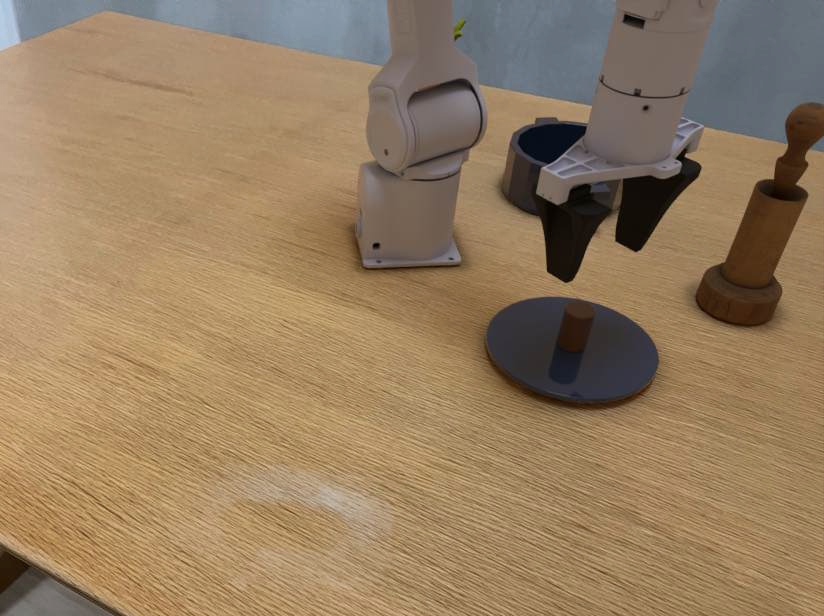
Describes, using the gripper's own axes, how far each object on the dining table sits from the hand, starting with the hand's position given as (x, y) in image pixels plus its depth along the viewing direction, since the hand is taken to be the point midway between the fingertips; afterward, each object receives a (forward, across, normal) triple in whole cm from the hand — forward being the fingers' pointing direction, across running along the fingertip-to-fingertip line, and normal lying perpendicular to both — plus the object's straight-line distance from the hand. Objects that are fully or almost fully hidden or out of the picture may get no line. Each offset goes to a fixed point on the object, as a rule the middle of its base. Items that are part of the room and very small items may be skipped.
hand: (594, 260), depth 63 cm
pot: (+9, +21, +20) cm, 31 cm away
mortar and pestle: (+9, +18, -3) cm, 20 cm away
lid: (+8, 0, 0) cm, 8 cm away
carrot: (+9, +16, +37) cm, 41 cm away
